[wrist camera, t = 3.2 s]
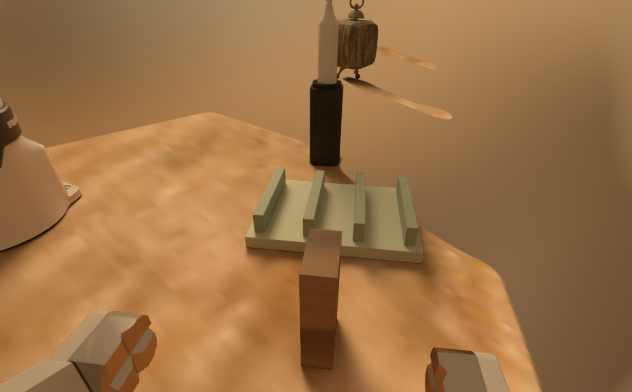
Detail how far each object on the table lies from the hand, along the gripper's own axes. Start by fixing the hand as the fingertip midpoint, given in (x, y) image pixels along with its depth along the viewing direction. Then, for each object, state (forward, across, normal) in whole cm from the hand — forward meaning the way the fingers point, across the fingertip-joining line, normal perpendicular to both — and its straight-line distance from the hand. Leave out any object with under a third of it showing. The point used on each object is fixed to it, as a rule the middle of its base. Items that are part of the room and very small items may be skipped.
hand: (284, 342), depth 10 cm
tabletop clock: (+115, +1, +16) cm, 116 cm away
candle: (+49, +4, +17) cm, 52 cm away
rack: (+30, 0, +17) cm, 35 cm away
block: (+12, 0, +17) cm, 21 cm away
